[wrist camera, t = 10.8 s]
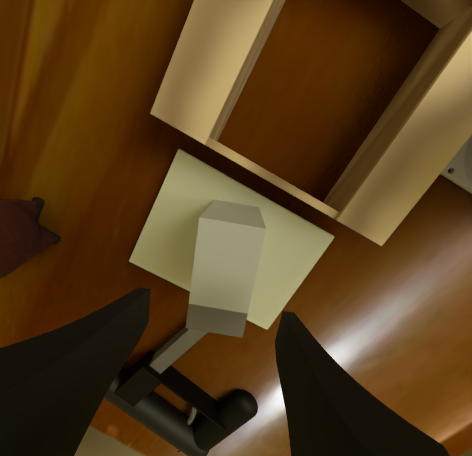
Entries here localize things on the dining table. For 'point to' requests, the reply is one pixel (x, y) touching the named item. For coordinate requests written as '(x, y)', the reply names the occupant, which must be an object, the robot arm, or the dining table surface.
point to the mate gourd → (21, 233)
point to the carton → (379, 139)
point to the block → (225, 267)
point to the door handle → (167, 416)
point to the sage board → (186, 228)
